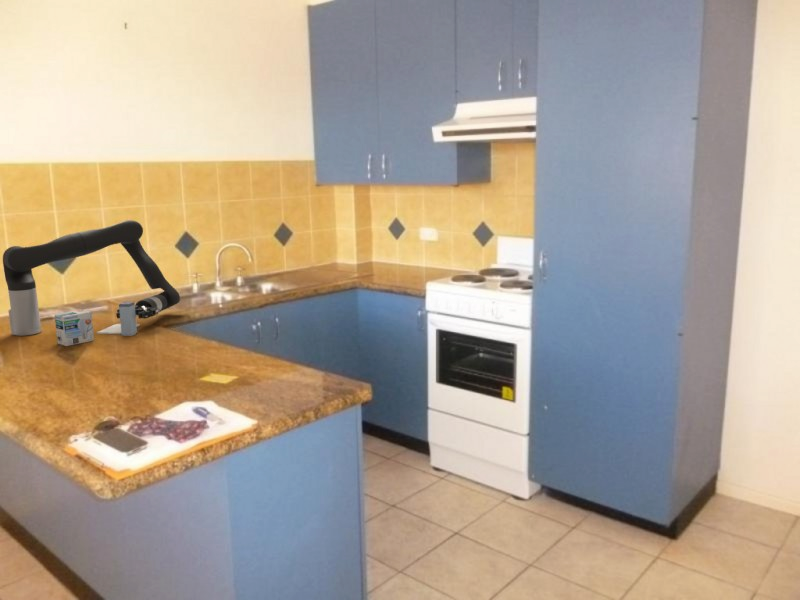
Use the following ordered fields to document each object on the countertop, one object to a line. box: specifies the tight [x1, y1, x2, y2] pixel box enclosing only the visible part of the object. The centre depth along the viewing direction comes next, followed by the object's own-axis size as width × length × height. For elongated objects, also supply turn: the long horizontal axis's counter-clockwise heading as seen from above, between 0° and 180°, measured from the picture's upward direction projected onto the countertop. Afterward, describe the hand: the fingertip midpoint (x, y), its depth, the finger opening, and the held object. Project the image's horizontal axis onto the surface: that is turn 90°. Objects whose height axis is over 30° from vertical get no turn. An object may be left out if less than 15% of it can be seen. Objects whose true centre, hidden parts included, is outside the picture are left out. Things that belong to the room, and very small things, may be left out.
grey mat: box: [96, 323, 141, 335], centre depth 260 cm, size 10×14×1 cm
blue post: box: [118, 301, 138, 337], centre depth 252 cm, size 4×4×12 cm
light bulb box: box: [54, 309, 95, 347], centre depth 241 cm, size 11×7×11 cm, turn 143°
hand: (128, 315), depth 252 cm, fingers open, 8 cm apart
